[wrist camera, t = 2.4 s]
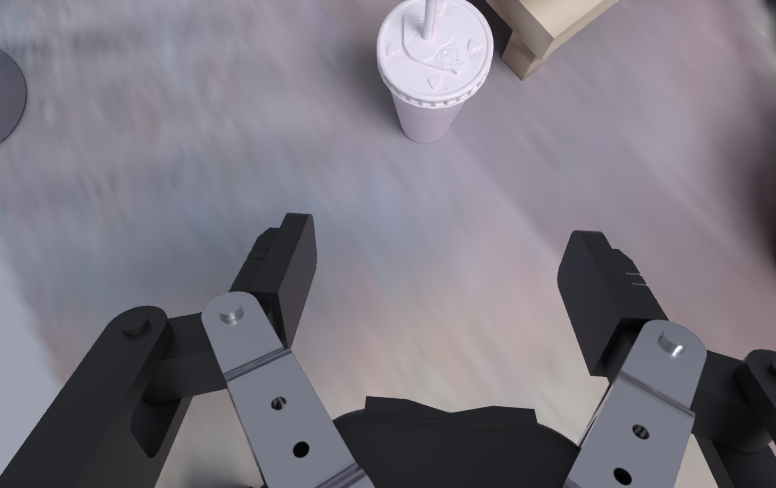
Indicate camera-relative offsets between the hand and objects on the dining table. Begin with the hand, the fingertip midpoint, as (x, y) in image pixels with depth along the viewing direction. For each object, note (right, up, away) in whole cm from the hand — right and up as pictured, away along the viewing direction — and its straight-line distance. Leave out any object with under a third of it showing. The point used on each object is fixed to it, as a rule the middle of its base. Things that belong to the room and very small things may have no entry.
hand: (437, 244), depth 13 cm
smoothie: (+1, +9, +19) cm, 21 cm away
